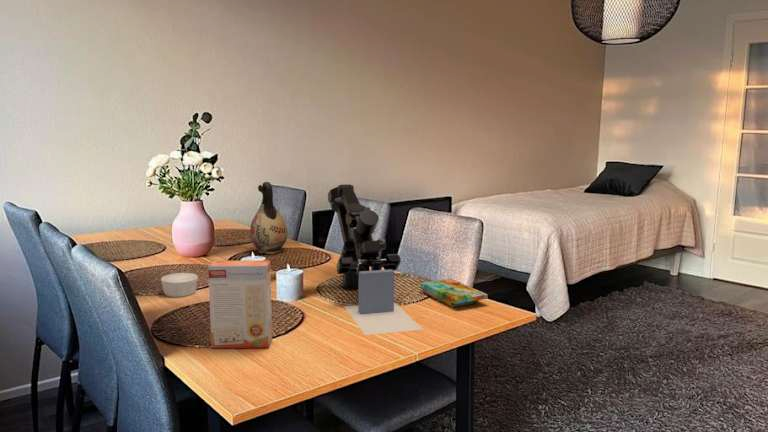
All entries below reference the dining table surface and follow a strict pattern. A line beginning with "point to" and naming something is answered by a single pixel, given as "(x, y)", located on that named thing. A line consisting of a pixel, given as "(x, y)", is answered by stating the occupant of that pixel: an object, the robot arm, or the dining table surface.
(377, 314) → the mat
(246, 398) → the dining table surface
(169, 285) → the ramekin
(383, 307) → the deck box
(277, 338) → the dining table surface
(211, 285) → the cracker box
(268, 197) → the ceramic jug
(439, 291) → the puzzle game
